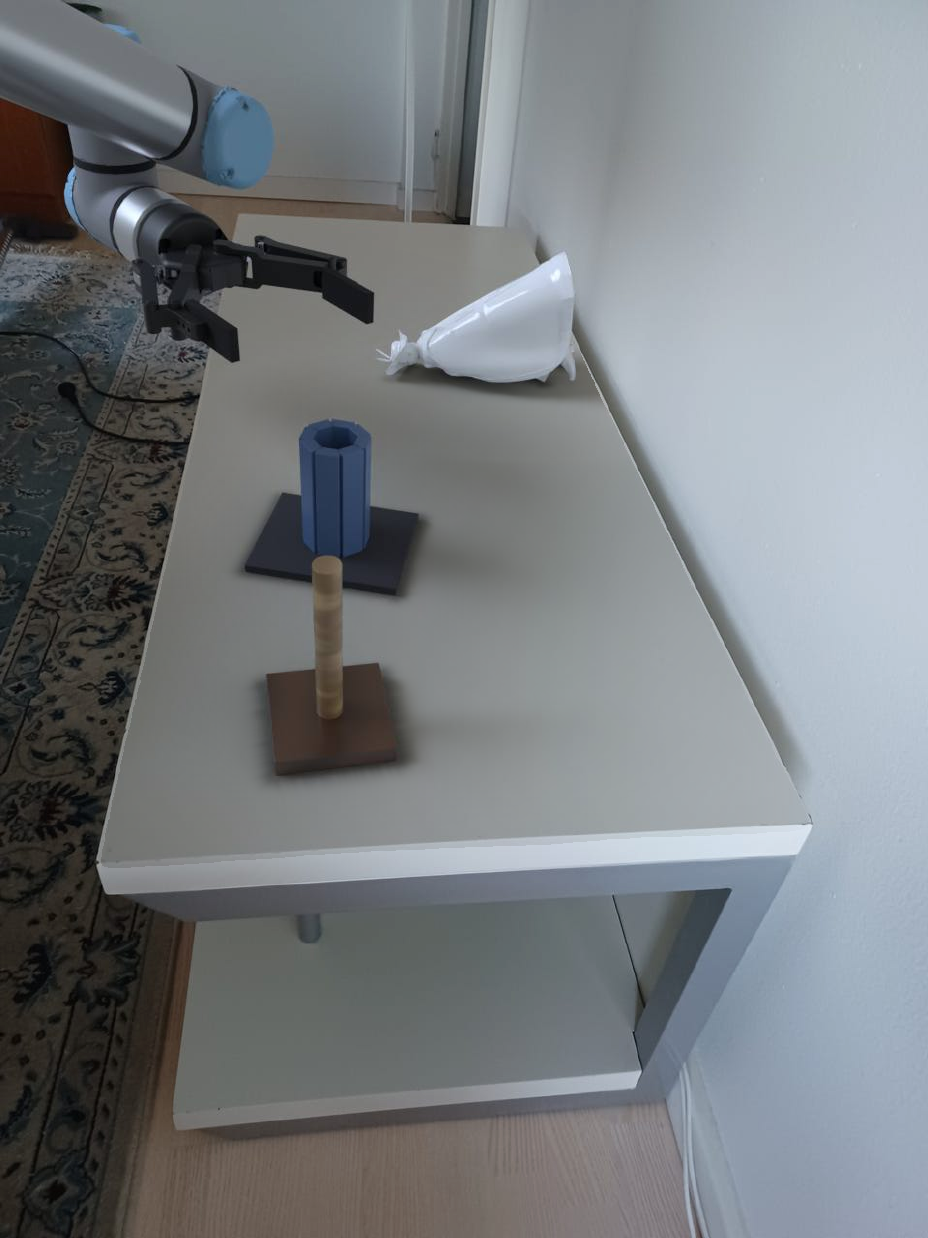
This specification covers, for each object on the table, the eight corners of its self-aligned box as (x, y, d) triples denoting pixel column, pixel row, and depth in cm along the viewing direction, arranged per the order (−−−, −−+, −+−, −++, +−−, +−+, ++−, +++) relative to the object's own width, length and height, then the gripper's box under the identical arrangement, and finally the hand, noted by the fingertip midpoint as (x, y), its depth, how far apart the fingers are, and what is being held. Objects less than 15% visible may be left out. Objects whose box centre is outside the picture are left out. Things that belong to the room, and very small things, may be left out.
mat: (244, 571, 82) (244, 564, 82) (282, 498, 91) (282, 492, 91) (395, 595, 82) (395, 588, 81) (418, 519, 91) (419, 513, 90)
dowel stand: (275, 775, 66) (262, 615, 55) (266, 686, 72) (253, 528, 62) (397, 760, 68) (406, 603, 57) (378, 675, 74) (383, 519, 64)
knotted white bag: (559, 363, 122) (373, 362, 119) (571, 237, 114) (372, 232, 110) (582, 396, 111) (378, 395, 108) (598, 259, 102) (377, 254, 99)
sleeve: (296, 551, 84) (292, 449, 77) (313, 515, 88) (310, 415, 81) (360, 561, 84) (361, 460, 76) (373, 524, 88) (376, 425, 81)
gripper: (285, 258, 95) (417, 334, 84) (52, 310, 81) (175, 408, 70) (282, 182, 90) (422, 253, 79) (33, 223, 76) (162, 315, 65)
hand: (306, 326), depth 75 cm, fingers open, 13 cm apart
